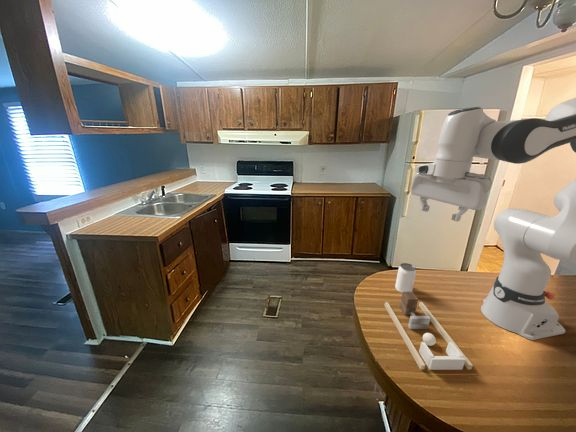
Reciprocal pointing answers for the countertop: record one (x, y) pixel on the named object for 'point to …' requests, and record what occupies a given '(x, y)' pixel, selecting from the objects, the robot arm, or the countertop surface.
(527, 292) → the robot arm
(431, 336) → the ball
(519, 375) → the countertop surface
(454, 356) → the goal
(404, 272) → the can
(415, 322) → the block
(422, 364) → the pitch
